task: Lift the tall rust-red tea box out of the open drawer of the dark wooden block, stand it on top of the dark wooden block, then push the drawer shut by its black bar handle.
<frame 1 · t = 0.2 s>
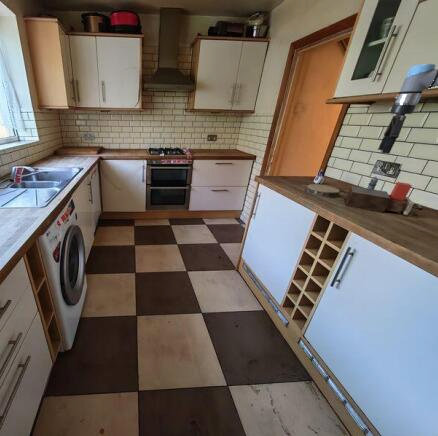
hand: (383, 151, 114), 27 cm above the table, tool pointing down, fingers open, 13 cm apart
dark wooden block: (363, 205, 122), on the table
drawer: (394, 203, 114), point 4 cm above the table, slide at 7.0 cm, touching tea box
tea box: (392, 206, 115), point 2 cm above the table, touching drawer
salt shaker: (366, 196, 135), on the table
round wood slice: (321, 193, 139), on the table
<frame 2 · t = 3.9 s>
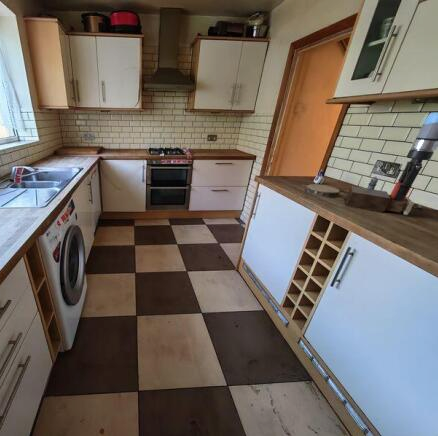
hand: (396, 197, 113), 7 cm above the table, tool pointing down, fingers closed on tea box, 4 cm apart
tea box: (392, 206, 115), point 2 cm above the table, touching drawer, gripper
everything else where it was.
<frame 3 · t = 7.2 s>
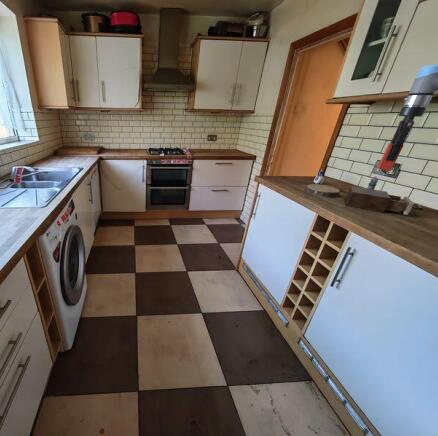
hand: (388, 159, 110), 24 cm above the table, tool pointing down, fingers closed on tea box, 4 cm apart
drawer: (394, 203, 114), point 4 cm above the table, slide at 7.0 cm
tea box: (383, 169, 113), point 20 cm above the table, touching gripper
everything else where it was.
when the fingers open (12 cm above the table, at t = 10.7 s): tea box stays where it is, resting on dark wooden block.
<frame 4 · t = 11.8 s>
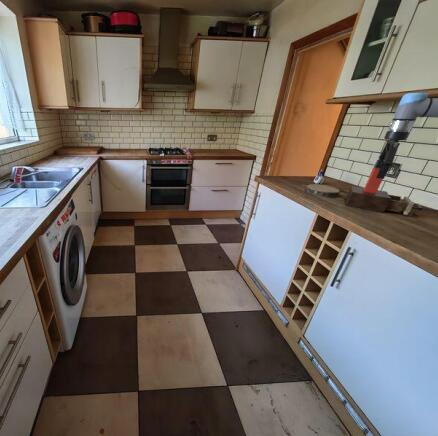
hand: (377, 175, 115), 16 cm above the table, tool pointing down, fingers open, 13 cm apart
tea box: (369, 191, 118), point 8 cm above the table, touching dark wooden block
everything else where it was.
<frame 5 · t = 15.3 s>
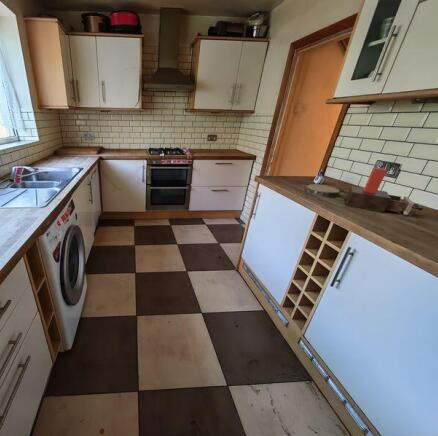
nothing on the table moved.
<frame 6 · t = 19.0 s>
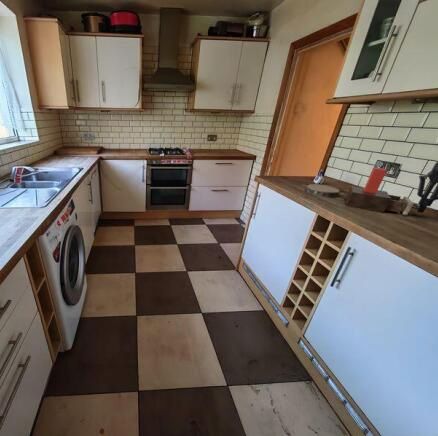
hand: (419, 211, 110), 2 cm above the table, tool pointing down, fingers closed
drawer: (394, 203, 114), point 4 cm above the table, slide at 6.8 cm, touching gripper
everything else where it was.
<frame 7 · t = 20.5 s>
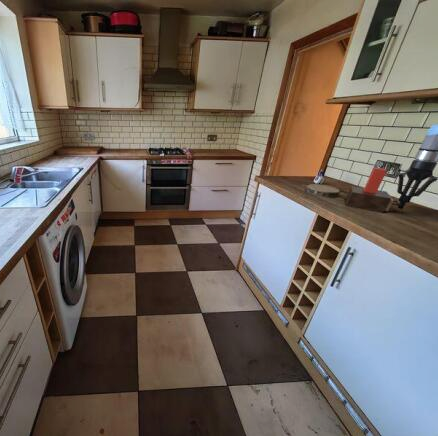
hand: (400, 208, 114), 2 cm above the table, tool pointing down, fingers closed
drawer: (376, 200, 118), point 4 cm above the table, slide at 0.0 cm, touching dark wooden block, gripper
everything else where it was.
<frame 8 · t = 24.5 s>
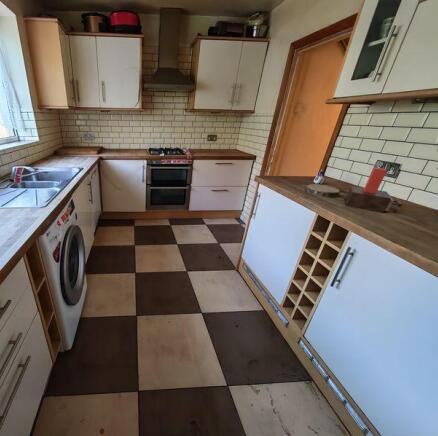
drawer: (376, 200, 118), point 4 cm above the table, slide at 0.0 cm, touching dark wooden block
everything else where it was.
at the end: tea box inside the target area on the dark wooden block (0.1 cm from its centre), point 7.6 cm above the dark wooden block's base; tea box tilted 0°; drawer slide at 0.0 cm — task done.
